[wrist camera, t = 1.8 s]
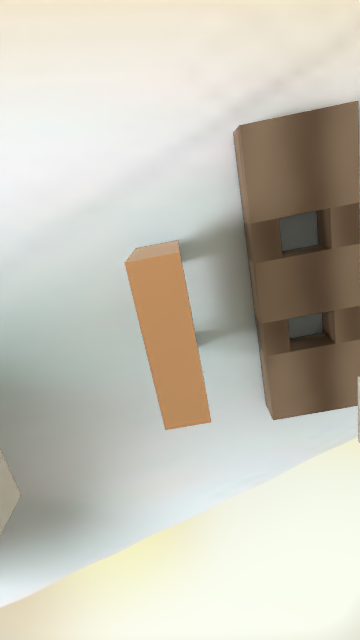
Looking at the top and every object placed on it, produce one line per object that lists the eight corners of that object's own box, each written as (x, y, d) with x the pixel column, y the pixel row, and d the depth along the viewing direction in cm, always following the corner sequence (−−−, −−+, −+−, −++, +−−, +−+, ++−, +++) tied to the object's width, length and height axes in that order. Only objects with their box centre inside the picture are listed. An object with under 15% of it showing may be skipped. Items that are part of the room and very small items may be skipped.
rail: (265, 404, 33) (273, 420, 31) (233, 132, 25) (239, 125, 23) (347, 390, 33) (361, 404, 30) (340, 110, 25) (358, 100, 22)
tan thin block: (167, 361, 31) (165, 430, 22) (141, 241, 28) (124, 262, 18) (199, 355, 31) (211, 422, 22) (177, 234, 27) (179, 252, 18)
